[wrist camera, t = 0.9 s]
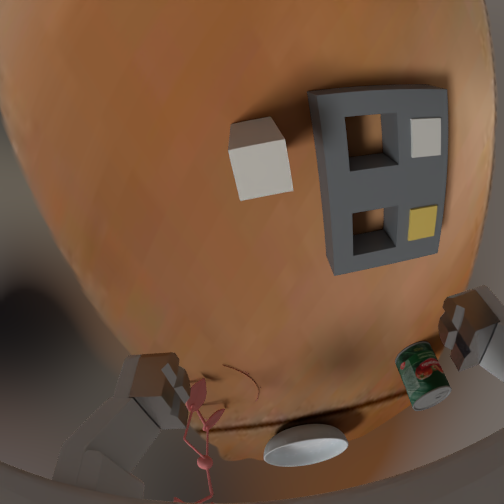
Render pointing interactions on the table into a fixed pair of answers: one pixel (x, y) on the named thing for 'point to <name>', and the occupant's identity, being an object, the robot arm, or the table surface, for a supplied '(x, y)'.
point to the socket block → (382, 172)
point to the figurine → (193, 405)
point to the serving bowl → (305, 445)
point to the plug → (259, 159)
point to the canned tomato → (422, 376)
